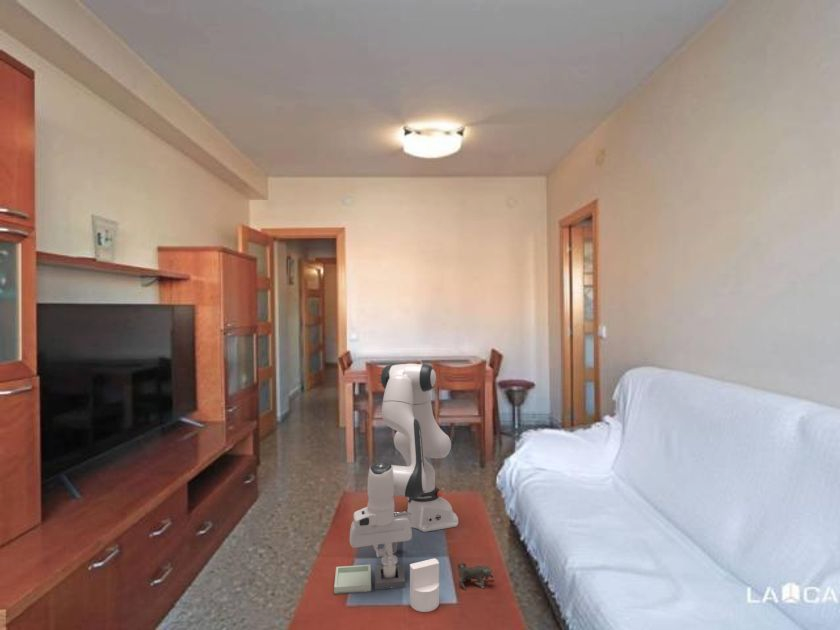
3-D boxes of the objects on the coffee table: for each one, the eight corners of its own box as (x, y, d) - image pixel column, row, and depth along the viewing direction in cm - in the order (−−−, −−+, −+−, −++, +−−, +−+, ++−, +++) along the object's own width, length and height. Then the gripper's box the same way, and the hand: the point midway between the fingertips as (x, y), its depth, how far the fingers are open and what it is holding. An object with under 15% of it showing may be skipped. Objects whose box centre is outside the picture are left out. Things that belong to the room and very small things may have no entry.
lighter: (385, 552, 170) (385, 531, 170) (386, 550, 172) (386, 528, 171) (404, 553, 169) (404, 532, 169) (404, 551, 171) (404, 530, 170)
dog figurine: (458, 590, 147) (458, 567, 147) (457, 579, 153) (456, 557, 153) (496, 590, 147) (495, 567, 147) (493, 579, 153) (492, 557, 153)
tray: (370, 570, 158) (370, 564, 158) (371, 591, 146) (371, 584, 146) (336, 573, 157) (336, 566, 157) (334, 594, 145) (334, 587, 145)
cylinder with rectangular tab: (416, 615, 135) (416, 574, 135) (405, 597, 144) (405, 559, 143) (444, 607, 139) (444, 567, 139) (431, 590, 147) (431, 553, 147)
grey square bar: (383, 538, 164) (383, 530, 164) (391, 538, 164) (391, 530, 164) (386, 566, 147) (386, 556, 147) (394, 565, 147) (394, 556, 147)
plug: (396, 574, 156) (396, 554, 156) (397, 583, 151) (397, 562, 151) (381, 575, 155) (381, 555, 155) (382, 584, 150) (382, 563, 150)
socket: (400, 559, 165) (401, 538, 165) (405, 587, 149) (405, 563, 149) (374, 561, 164) (374, 539, 164) (375, 589, 148) (375, 565, 148)
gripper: (409, 506, 155) (409, 546, 156) (348, 513, 150) (349, 555, 151) (414, 514, 149) (414, 556, 150) (350, 522, 144) (351, 565, 144)
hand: (381, 555), depth 150 cm, fingers closed
